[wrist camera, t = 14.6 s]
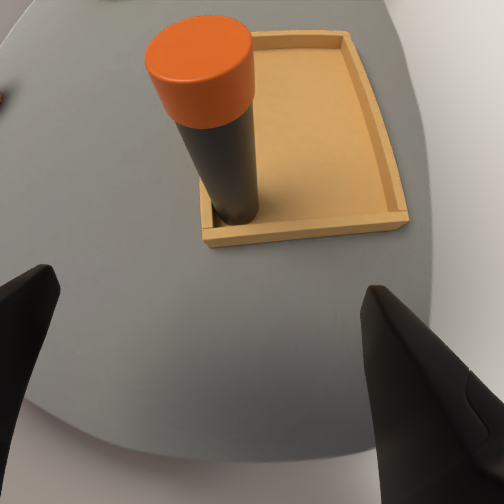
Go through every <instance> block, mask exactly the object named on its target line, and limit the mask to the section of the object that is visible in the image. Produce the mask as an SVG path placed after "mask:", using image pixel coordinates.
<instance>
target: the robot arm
mask: <svg viewBox="0 0 504 504" xmlns="http://www.w3.org/2000/svg"><path fill="white" fill-rule="evenodd" d="M59 295H60V284H59V282H58V280H57V277H56V275H55V272H54V269H53V268H52V266H50V265H46V264H39V265H37V266H36V267H34V268H32V269H30V270H28V271H27V272H25V273H23V274H21V275H20V276H18V277H16V278H14V279H13V280H11V281H9V282H7V283H6V284H4V285H2V286H1V287H0V496H1V490H2V484H3V479H4V473H5V468H6V463H7V458H8V454H9V449H10V444H11V440H12V436H13V433H14V429H15V425H16V421H17V418H18V414H19V411H20V408H21V404H22V401H23V398H24V395H25V392H26V389H27V386H28V383H29V380H30V377H31V374H32V371H33V368H34V366H35V363H36V360H37V358H38V355H39V352H40V350H41V347H42V345H43V342H44V340H45V337H46V334H47V331H48V328H49V325H50V322H51V319H52V316H53V313H54V310H55V307H56V304H57V301H58V298H59ZM360 319H361V331H362V344H363V359H364V369H365V376H366V382H367V388H368V394H369V400H370V406H371V413H372V420H373V427H374V435H375V443H376V451H377V459H378V469H379V479H380V489H381V490H380V491H381V502H382V504H504V403H503V402H502V401H501V400H500V399H498V397H497V396H495V395H494V394H493V393H492V392H491V391H490V390H489V389H488V388H487V387H486V385H485V384H483V382H482V381H481V380H480V379H479V378H478V377H477V376H476V375H475V374H474V373H473V372H472V371H471V370H470V371H469V368H468V367H467V366H466V365H465V364H464V363H463V362H462V361H461V360H460V359H459V358H458V357H457V356H456V355H455V354H454V353H453V351H452V350H451V349H450V348H449V347H448V346H447V345H445V343H444V342H443V341H442V340H441V339H440V338H439V337H438V336H436V335H435V334H434V333H433V332H432V331H431V330H430V329H429V328H428V327H427V326H426V325H425V324H424V323H423V322H422V321H421V320H420V319H419V318H418V317H417V316H416V315H415V314H414V313H413V312H412V311H411V310H410V309H409V308H408V307H406V306H405V305H404V304H403V303H402V302H401V301H400V300H399V299H398V298H397V297H396V296H395V295H394V294H393V293H391V292H390V291H389V290H388V289H387V288H386V287H385V286H382V285H370V286H369V287H368V288H367V291H366V294H365V297H364V301H363V304H362V307H361V312H360Z"/></svg>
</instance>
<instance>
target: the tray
mask: <svg viewBox="0 0 504 504" xmlns="http://www.w3.org/2000/svg"><path fill="white" fill-rule="evenodd" d="M250 33H251V35H252V38H253V52H254V72H255V96H254V99H253V117H254V133H255V150H256V167H257V185H258V203H259V208H258V212H257V214H256V216H255V218H254V219H253V220H252V221H251V222H249V223H248V224H246V225H236V226H230V225H228V224H226V223H224V222H223V221H222V220H221V219H220V218H219V216H218V214H217V212H216V210H215V208H214V206H213V204H212V202H211V199H210V197H209V195H208V193H207V191H206V189H205V186H204V184H203V182H202V180H201V178H200V176H199V183H200V206H201V226H202V239H203V241H204V242H205V243H206V244H207V246H208V247H209V248H212V247H222V246H232V245H242V244H252V243H262V242H272V241H283V240H293V239H303V238H314V237H324V236H335V235H345V234H356V233H367V232H378V231H389V230H397V229H398V228H400V227H401V226H403V225H404V224H405V223H407V222H408V221H409V215H408V211H407V206H406V201H405V197H404V193H403V188H402V184H401V180H400V176H399V173H398V169H397V165H396V162H395V158H394V154H393V151H392V147H391V144H390V141H389V138H388V134H387V131H386V128H385V125H384V122H383V119H382V116H381V113H380V110H379V107H378V104H377V101H376V99H375V96H374V93H373V90H372V88H371V85H370V82H369V80H368V77H367V75H366V72H365V70H364V67H363V65H362V62H361V60H360V58H359V55H358V53H357V51H356V48H355V46H354V44H353V42H352V39H351V37H350V35H349V33H348V32H346V31H325V30H285V31H263V32H250Z"/></svg>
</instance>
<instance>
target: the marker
mask: <svg viewBox="0 0 504 504" xmlns="http://www.w3.org/2000/svg"><path fill="white" fill-rule="evenodd" d="M145 66H146V69H147V71H148V73H149V75H150V78H151V80H152V82H153V84H154V86H155V88H156V90H157V93H158V95H159V97H160V99H161V101H162V103H163V105H164V108H165V110H166V112H167V113H168V115H169V116H170V117H171V118H172V119H173V120H174V121H175V123H176V125H177V127H178V130H179V132H180V134H181V136H182V138H183V141H184V143H185V145H186V147H187V149H188V152H189V154H190V156H191V158H192V160H193V163H194V165H195V167H196V169H197V171H198V173H199V176H200V178H201V180H202V182H203V184H204V186H205V189H206V191H207V193H208V195H209V197H210V199H211V202H212V204H213V206H214V208H215V210H216V212H217V214H218V216H219V218H220V219H221V220H222V221H223V222H224V223H226V224H228V225H230V226H236V225H246V224H248V223H249V222H251V221H252V220H253V219H254V218H255V216H256V214H257V212H258V208H259V203H258V185H257V167H256V150H255V133H254V117H253V99H254V96H255V72H254V52H253V38H252V35H251V33H250V32H249V30H248V29H247V28H246V27H245V26H244V25H243V24H242V23H240V22H238V21H236V20H234V19H232V18H229V17H224V16H218V15H204V16H196V17H191V18H188V19H184V20H182V21H179V22H177V23H174V24H172V25H171V26H169V27H167V28H166V29H164V30H163V31H161V32H160V33H159V34H158V35H157V36H156V37H155V38H154V39H153V40H152V41H151V43H150V44H149V46H148V48H147V50H146V54H145Z"/></svg>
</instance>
